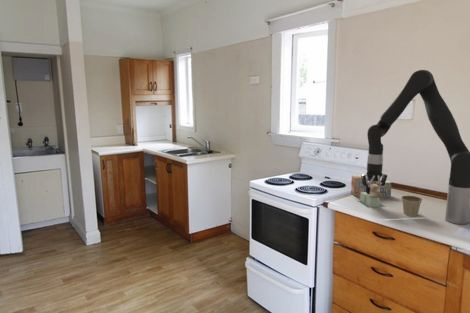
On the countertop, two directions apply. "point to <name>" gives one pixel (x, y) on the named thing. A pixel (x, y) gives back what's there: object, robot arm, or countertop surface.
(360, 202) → the build mat
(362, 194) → the sage block far
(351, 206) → the countertop surface
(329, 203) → the countertop surface
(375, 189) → the maple block
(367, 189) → the robot arm
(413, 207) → the flower pot
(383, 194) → the stack of blocks
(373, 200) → the sage block near
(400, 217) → the countertop surface
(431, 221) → the countertop surface
